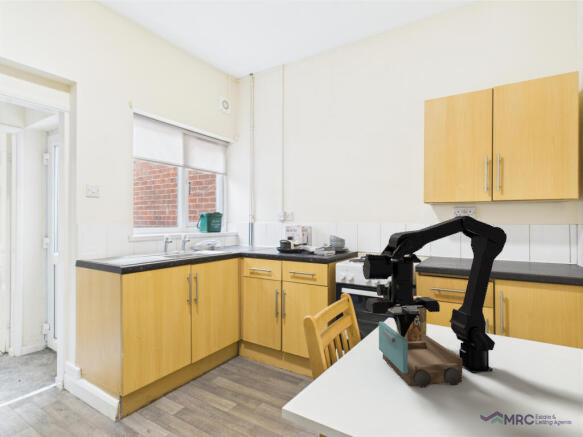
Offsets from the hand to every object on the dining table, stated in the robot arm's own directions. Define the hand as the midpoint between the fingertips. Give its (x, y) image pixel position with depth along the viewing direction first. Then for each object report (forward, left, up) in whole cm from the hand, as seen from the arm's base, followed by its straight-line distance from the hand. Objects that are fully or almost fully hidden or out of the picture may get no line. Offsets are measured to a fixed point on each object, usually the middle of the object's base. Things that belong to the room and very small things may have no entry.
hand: (402, 336), depth 86 cm
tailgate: (+3, 0, -6) cm, 7 cm away
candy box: (-12, -17, -9) cm, 23 cm away
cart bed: (-5, 0, -9) cm, 10 cm away
